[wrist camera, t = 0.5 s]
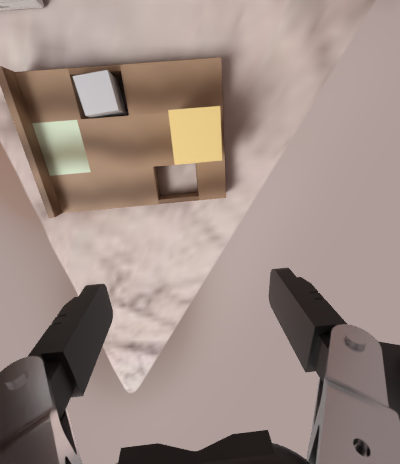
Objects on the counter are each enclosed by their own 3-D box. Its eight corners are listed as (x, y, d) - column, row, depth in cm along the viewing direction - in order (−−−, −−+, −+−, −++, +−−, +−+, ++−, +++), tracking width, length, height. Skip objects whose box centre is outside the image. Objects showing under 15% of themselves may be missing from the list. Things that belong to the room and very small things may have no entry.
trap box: (22, 78, 27) (-7, 66, 23) (218, 64, 28) (224, 50, 24) (65, 208, 34) (48, 217, 29) (223, 193, 34) (228, 200, 30)
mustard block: (170, 116, 28) (168, 110, 23) (213, 112, 28) (220, 105, 23) (176, 161, 30) (174, 164, 25) (215, 157, 30) (222, 160, 25)
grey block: (87, 85, 28) (72, 76, 24) (117, 79, 28) (107, 69, 24) (97, 119, 30) (85, 115, 26) (126, 114, 30) (118, 109, 26)
